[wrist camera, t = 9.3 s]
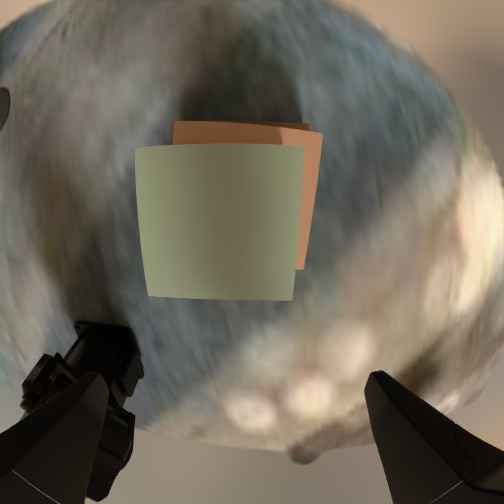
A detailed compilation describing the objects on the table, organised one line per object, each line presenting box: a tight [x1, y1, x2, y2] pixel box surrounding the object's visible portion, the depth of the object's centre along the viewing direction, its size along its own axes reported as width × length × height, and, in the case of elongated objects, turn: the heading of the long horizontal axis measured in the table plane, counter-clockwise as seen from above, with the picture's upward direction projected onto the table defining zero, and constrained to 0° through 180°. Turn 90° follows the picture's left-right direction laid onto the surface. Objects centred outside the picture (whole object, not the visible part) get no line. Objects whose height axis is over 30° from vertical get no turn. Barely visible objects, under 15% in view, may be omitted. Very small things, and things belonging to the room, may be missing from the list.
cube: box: [135, 143, 304, 301], centre depth 11 cm, size 5×5×5 cm
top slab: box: [173, 121, 323, 270], centre depth 14 cm, size 7×7×3 cm
